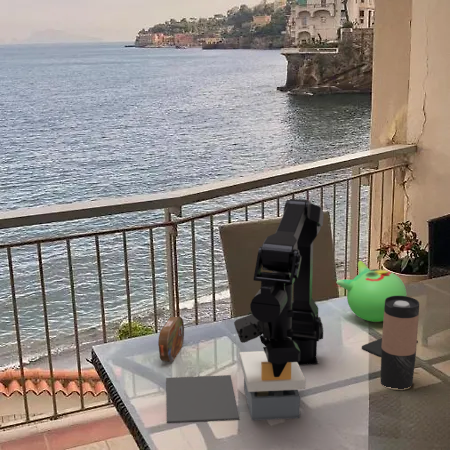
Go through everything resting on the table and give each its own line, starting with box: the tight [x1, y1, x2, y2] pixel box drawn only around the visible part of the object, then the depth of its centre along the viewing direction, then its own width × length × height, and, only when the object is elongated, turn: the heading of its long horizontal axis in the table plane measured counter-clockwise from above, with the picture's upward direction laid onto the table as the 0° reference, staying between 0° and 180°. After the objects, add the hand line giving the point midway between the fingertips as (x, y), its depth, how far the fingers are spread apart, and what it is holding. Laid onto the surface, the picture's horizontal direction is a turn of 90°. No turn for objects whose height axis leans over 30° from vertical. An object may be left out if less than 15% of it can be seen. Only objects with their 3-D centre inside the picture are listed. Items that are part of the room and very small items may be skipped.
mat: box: [165, 374, 240, 424], centre depth 153 cm, size 15×19×1 cm
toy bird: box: [336, 260, 407, 323], centre depth 195 cm, size 18×17×15 cm
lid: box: [239, 350, 307, 392], centre depth 149 cm, size 12×16×6 cm
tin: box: [157, 316, 185, 363], centre depth 174 cm, size 15×3×8 cm, turn 168°
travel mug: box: [380, 295, 420, 389], centre depth 157 cm, size 8×8×20 cm
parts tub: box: [243, 377, 301, 421], centre depth 151 cm, size 10×14×5 cm
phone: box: [361, 337, 418, 358], centre depth 180 cm, size 7×1×15 cm
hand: (276, 374), depth 143 cm, fingers closed on lid
